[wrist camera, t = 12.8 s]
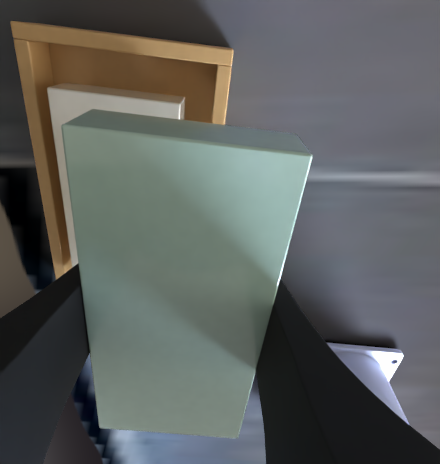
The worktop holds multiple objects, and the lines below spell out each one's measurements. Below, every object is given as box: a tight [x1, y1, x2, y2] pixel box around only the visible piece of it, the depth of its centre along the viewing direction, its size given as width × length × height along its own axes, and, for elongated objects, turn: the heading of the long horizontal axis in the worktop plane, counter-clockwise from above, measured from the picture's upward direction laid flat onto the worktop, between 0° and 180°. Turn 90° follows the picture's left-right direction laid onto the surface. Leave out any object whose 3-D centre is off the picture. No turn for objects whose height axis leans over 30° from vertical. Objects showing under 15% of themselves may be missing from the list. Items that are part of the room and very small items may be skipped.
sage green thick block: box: [61, 109, 313, 439], centre depth 11 cm, size 11×5×3 cm, turn 173°
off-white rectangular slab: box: [47, 82, 185, 267], centre depth 17 cm, size 11×5×3 cm, turn 173°
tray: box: [10, 21, 233, 279], centre depth 18 cm, size 15×9×2 cm, turn 173°
